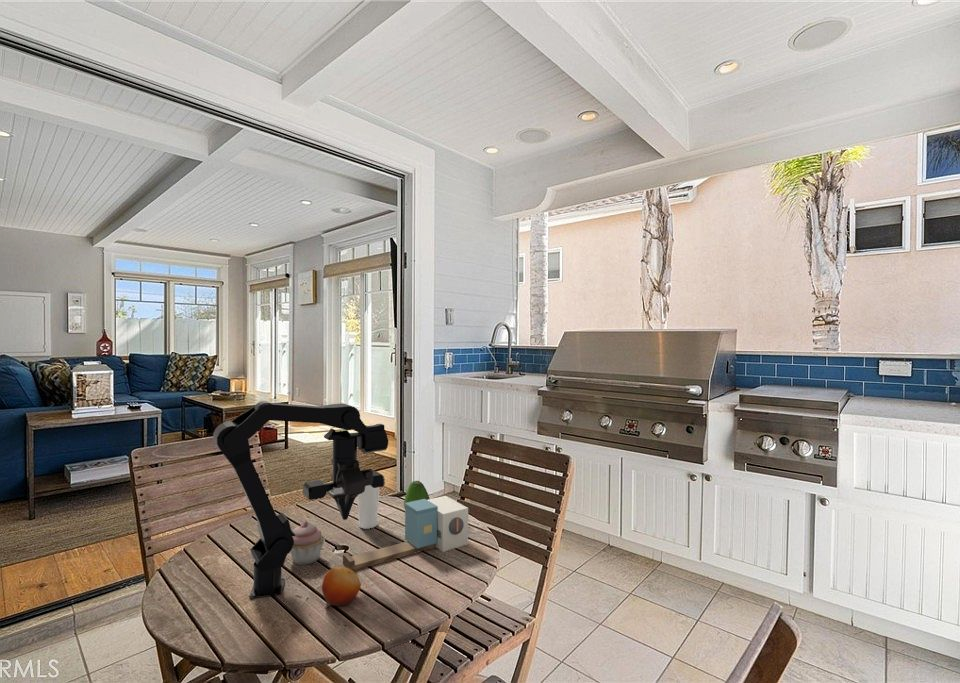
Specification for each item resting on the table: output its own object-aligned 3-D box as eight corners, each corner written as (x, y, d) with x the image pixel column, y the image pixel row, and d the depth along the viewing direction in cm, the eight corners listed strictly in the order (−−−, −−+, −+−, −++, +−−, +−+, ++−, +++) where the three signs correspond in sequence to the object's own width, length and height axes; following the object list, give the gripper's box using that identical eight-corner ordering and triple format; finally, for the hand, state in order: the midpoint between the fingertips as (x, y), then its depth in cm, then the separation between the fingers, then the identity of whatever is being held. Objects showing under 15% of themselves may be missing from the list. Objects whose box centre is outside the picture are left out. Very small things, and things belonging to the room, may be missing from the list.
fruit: (311, 590, 104) (331, 556, 106) (343, 602, 107) (363, 569, 108) (312, 610, 97) (334, 573, 98) (347, 623, 99) (367, 586, 100)
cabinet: (444, 553, 126) (444, 515, 125) (421, 536, 136) (421, 501, 136) (469, 545, 130) (470, 509, 130) (445, 529, 141) (445, 495, 141)
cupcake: (277, 563, 119) (277, 523, 119) (305, 548, 128) (306, 511, 127) (305, 571, 115) (306, 530, 115) (333, 555, 124) (333, 517, 124)
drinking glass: (355, 523, 145) (355, 473, 145) (378, 520, 147) (378, 472, 147) (356, 531, 139) (357, 480, 139) (380, 529, 141) (380, 478, 141)
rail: (349, 571, 115) (349, 561, 115) (342, 563, 119) (342, 553, 119) (436, 546, 129) (436, 538, 129) (427, 540, 133) (427, 531, 133)
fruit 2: (432, 514, 152) (432, 477, 152) (426, 524, 144) (427, 485, 144) (407, 513, 153) (407, 476, 153) (401, 523, 145) (401, 484, 145)
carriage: (417, 549, 124) (417, 511, 124) (404, 539, 130) (404, 503, 130) (437, 543, 128) (438, 506, 128) (424, 533, 134) (424, 498, 134)
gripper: (316, 469, 105) (315, 540, 105) (394, 457, 116) (393, 521, 116) (302, 458, 114) (302, 523, 114) (375, 448, 125) (375, 507, 125)
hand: (344, 519), depth 117 cm, fingers closed
